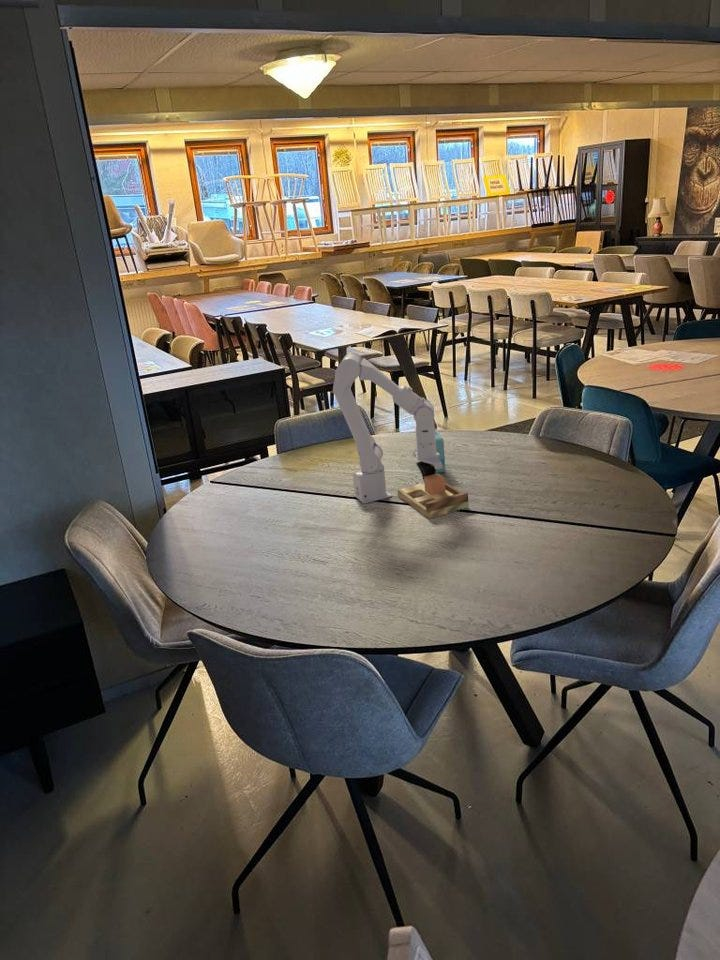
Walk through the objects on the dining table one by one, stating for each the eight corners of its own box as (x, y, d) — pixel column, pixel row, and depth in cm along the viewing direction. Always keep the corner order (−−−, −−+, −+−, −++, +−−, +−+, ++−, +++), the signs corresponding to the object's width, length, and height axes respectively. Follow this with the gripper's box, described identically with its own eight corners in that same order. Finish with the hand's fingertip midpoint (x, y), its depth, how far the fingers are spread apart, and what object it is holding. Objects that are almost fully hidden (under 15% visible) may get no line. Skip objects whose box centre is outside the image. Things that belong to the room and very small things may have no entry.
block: (432, 495, 199) (431, 481, 198) (424, 490, 203) (424, 476, 201) (445, 491, 201) (444, 478, 199) (438, 487, 205) (437, 473, 203)
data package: (445, 473, 220) (443, 438, 216) (432, 475, 220) (430, 440, 215) (435, 461, 231) (433, 428, 227) (422, 463, 231) (420, 430, 226)
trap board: (428, 518, 189) (427, 504, 188) (397, 495, 207) (396, 482, 205) (468, 507, 193) (467, 493, 192) (435, 486, 211) (434, 472, 209)
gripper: (450, 445, 195) (452, 488, 200) (426, 433, 208) (429, 474, 212) (428, 450, 193) (431, 494, 198) (406, 438, 205) (409, 479, 210)
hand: (428, 484), depth 205 cm, fingers closed
